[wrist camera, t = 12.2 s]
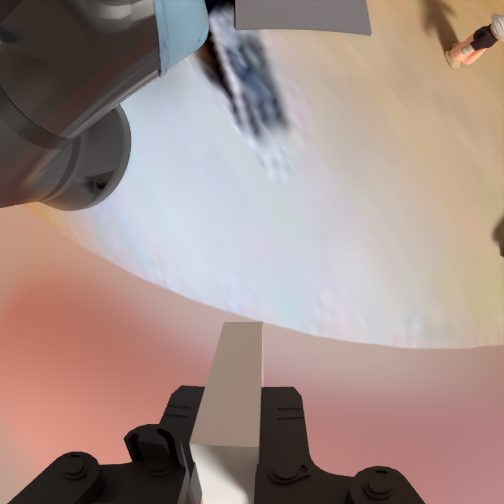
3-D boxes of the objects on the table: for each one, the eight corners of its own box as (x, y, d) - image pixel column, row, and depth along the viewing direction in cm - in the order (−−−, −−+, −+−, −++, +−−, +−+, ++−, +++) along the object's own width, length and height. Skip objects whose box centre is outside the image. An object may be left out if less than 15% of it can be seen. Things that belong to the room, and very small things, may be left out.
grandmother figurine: (458, 81, 31) (516, 56, 18) (436, 60, 30) (491, 27, 18) (476, 48, 29) (530, 21, 17) (456, 29, 29) (506, -5, 16)
